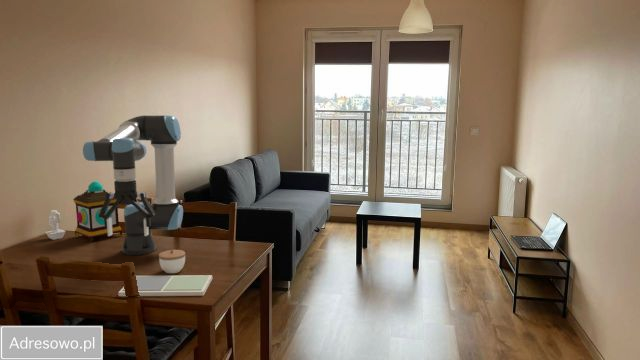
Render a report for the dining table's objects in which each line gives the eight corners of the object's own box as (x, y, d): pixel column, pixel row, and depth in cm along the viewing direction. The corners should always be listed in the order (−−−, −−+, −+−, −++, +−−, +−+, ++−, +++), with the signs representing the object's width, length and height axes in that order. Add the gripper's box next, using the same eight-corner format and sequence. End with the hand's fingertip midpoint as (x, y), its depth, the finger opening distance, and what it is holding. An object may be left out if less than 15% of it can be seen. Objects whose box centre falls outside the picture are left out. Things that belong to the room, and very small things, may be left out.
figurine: (58, 235, 252) (56, 208, 250) (67, 238, 247) (65, 210, 245) (44, 238, 247) (42, 210, 244) (53, 241, 241) (50, 212, 239)
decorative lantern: (108, 229, 264) (104, 177, 260) (126, 235, 252) (122, 180, 247) (71, 237, 249) (66, 181, 244) (88, 244, 237) (84, 185, 232)
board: (118, 296, 172) (118, 291, 172) (135, 279, 189) (134, 275, 189) (203, 295, 173) (203, 290, 173) (212, 278, 190) (212, 274, 190)
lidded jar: (178, 276, 193) (177, 254, 191) (154, 274, 195) (153, 252, 193) (190, 267, 203) (189, 246, 202) (167, 265, 205) (166, 245, 204)
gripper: (86, 181, 170) (90, 238, 173) (155, 181, 171) (158, 237, 174) (95, 178, 178) (99, 232, 181) (162, 178, 178) (164, 232, 182)
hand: (128, 235), depth 178 cm, fingers open, 13 cm apart
